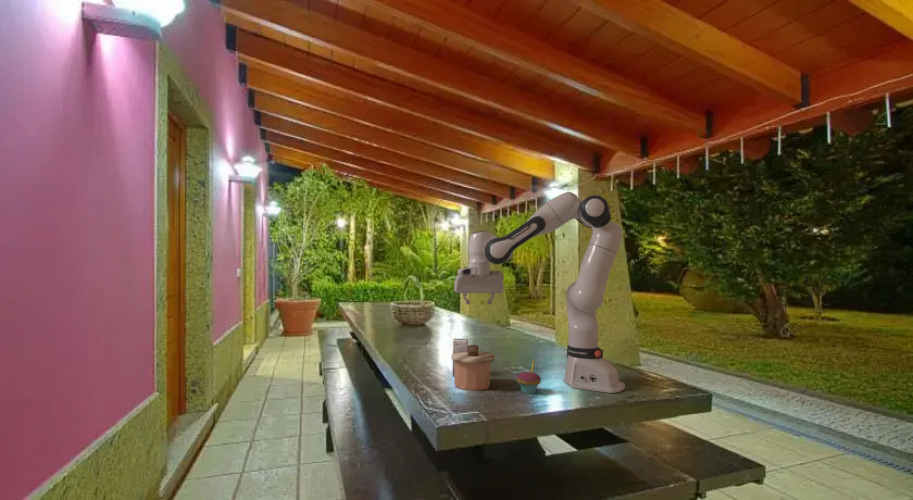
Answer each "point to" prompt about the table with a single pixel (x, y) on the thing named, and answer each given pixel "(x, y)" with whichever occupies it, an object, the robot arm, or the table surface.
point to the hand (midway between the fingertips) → (478, 304)
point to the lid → (473, 356)
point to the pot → (472, 376)
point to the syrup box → (459, 349)
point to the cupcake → (528, 381)
